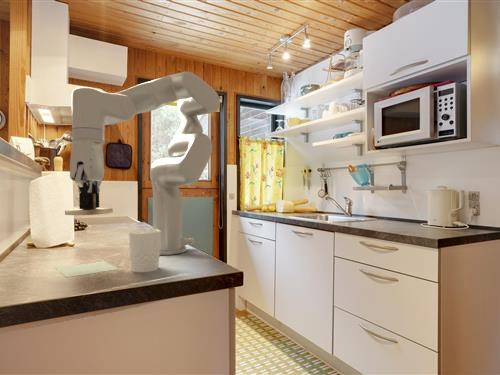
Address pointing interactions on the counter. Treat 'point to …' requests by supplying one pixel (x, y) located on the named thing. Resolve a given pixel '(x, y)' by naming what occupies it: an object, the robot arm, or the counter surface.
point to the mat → (86, 269)
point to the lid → (89, 210)
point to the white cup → (144, 250)
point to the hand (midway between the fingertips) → (89, 207)
